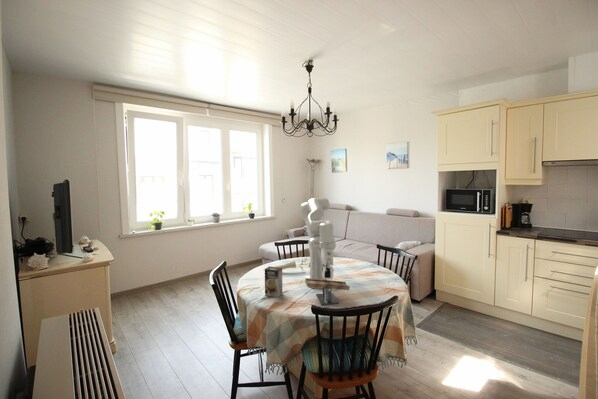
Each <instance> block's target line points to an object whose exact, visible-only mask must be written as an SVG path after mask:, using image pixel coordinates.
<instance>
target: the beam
mask: <svg viewBox="0 0 598 399" xmlns="http://www.w3.org/2000/svg"><path fill="white" fill-rule="evenodd" d="M304 283H305V284H306V286H307V288H311V287H314V288H313V289H315V288H320V289H323V288H327V286H329V285H331V290H341V291H350V286H349V285H348V284H347V282H346V281H343V280H342V281H339V280H331V279H327V280H318V279H306V280H305V281H304Z"/></svg>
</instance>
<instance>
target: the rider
mask: <svg viewBox="0 0 598 399" xmlns="http://www.w3.org/2000/svg"><path fill="white" fill-rule="evenodd" d="M334 271H335V268H334V267H333V266H332V265H331V277H330V278H325V266H323V272H322V277H323V278H324V279H327V280H333V278H334Z"/></svg>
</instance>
